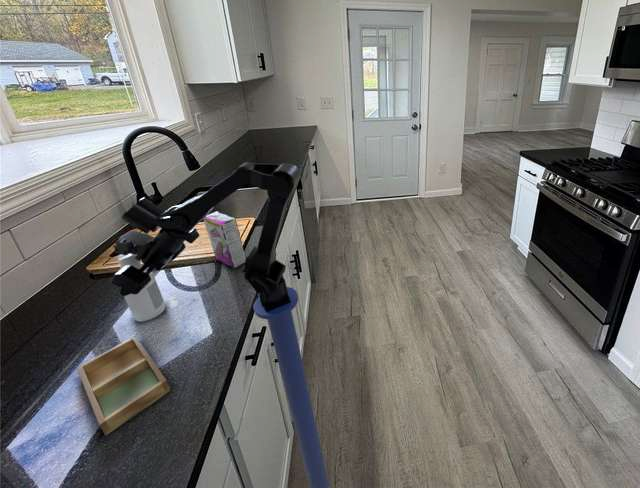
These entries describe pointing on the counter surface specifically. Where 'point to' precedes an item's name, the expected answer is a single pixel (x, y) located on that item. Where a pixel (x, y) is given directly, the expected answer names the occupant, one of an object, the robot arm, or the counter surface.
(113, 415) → the holder
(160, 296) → the spray bottle
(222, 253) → the candy bar box
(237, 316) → the counter surface
